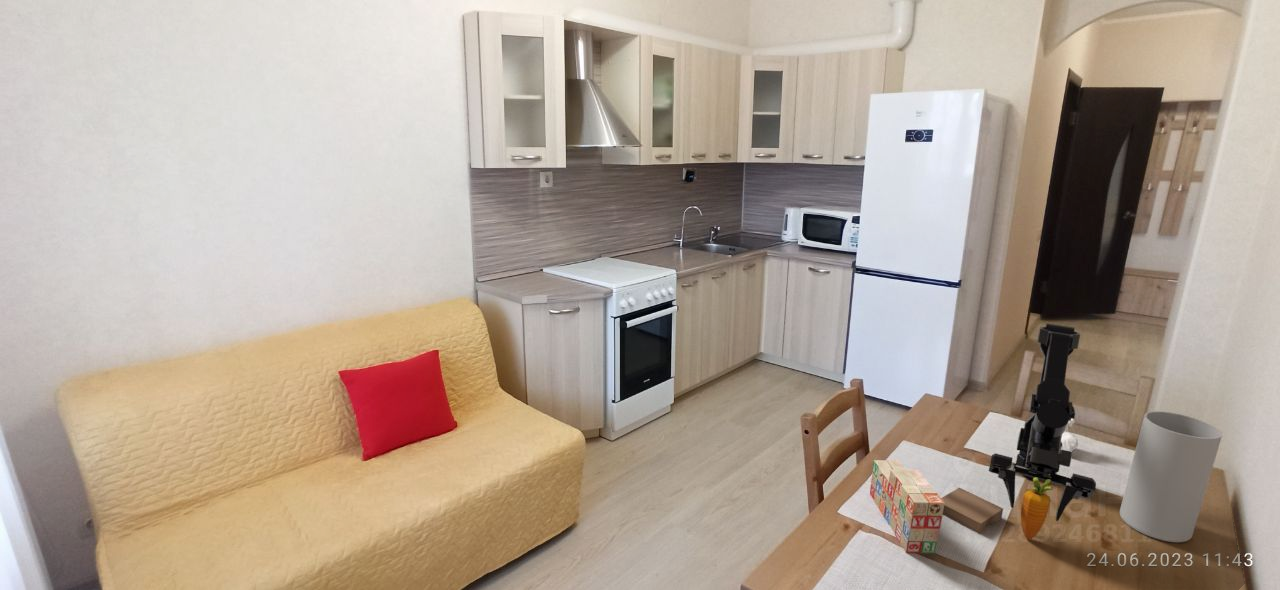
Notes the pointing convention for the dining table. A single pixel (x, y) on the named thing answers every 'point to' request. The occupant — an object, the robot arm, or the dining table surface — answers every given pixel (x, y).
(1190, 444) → the cylinder vase
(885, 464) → the stack of blocks
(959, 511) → the walnut plinth
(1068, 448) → the bust
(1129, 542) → the dining table surface
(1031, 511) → the carrot
